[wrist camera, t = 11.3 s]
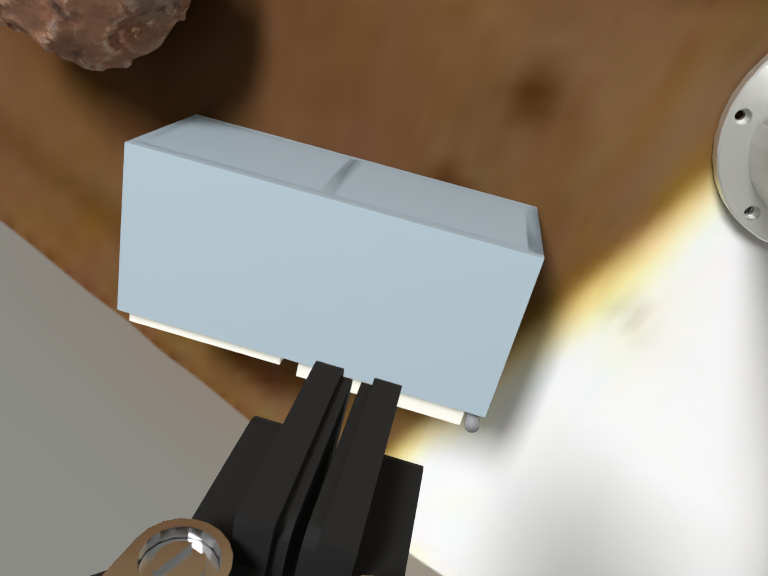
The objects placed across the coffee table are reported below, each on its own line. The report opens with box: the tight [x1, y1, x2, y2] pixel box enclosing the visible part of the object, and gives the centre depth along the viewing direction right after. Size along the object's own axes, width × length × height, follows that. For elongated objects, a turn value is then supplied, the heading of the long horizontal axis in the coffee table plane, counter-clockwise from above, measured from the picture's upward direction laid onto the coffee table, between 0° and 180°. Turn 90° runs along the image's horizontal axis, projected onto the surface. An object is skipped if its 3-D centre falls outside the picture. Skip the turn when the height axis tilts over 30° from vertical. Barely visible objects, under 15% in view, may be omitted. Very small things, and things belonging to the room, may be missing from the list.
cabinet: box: [117, 114, 544, 417], centre depth 39 cm, size 22×12×8 cm, turn 77°
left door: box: [296, 363, 480, 433], centre depth 41 cm, size 11×2×8 cm, turn 77°
